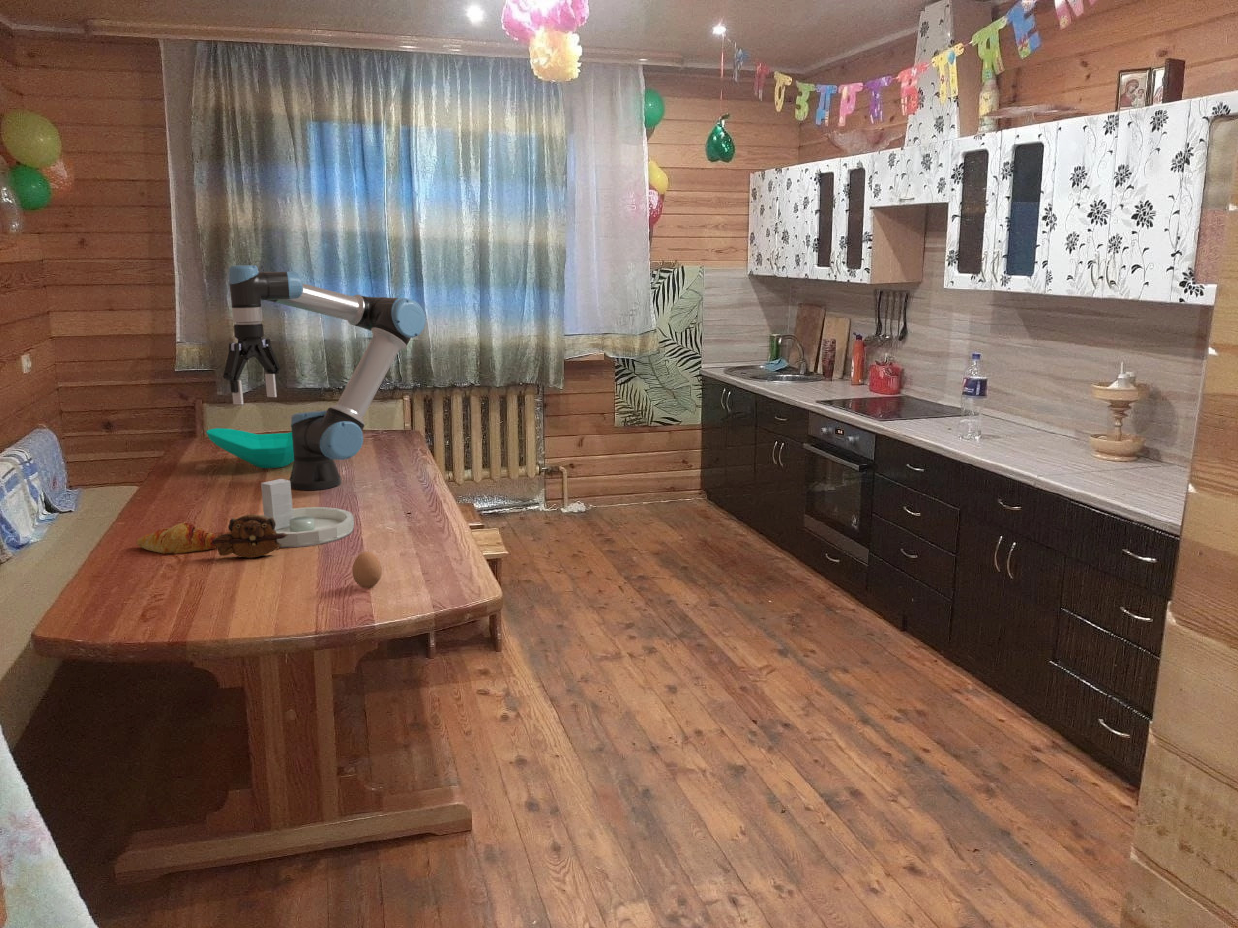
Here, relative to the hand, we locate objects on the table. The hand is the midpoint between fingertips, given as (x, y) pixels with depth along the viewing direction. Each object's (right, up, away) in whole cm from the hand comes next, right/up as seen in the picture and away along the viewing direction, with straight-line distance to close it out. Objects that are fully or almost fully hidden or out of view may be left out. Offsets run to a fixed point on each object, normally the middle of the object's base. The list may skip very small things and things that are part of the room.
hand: (255, 400), depth 258 cm
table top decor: (-17, -19, +58) cm, 63 cm away
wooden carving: (+14, -40, -39) cm, 58 cm away
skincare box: (+13, -34, -18) cm, 41 cm away
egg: (+47, -44, -60) cm, 88 cm away
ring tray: (+20, -35, -20) cm, 45 cm away
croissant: (-5, -38, -32) cm, 51 cm away
